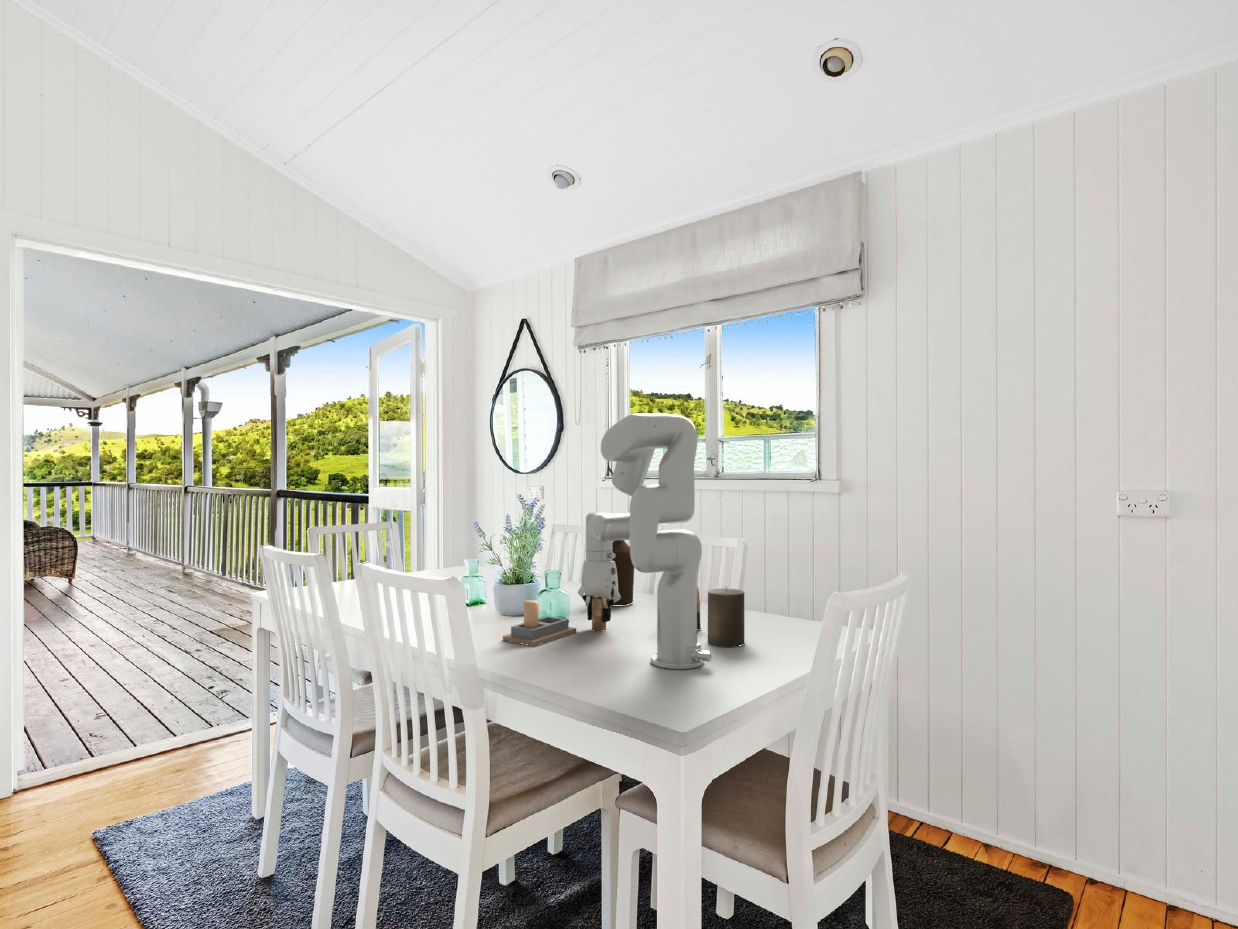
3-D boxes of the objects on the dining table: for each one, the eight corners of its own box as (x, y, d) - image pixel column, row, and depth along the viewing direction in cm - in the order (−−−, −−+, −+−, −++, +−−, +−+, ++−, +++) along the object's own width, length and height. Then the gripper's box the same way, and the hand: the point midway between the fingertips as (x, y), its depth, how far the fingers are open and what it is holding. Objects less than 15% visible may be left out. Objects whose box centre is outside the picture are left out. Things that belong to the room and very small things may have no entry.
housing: (576, 632, 199) (576, 596, 199) (534, 646, 184) (534, 607, 184) (545, 627, 205) (545, 591, 205) (502, 640, 190) (502, 602, 190)
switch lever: (608, 629, 203) (608, 597, 203) (600, 632, 200) (600, 600, 199) (597, 627, 205) (597, 596, 205) (589, 630, 202) (589, 598, 202)
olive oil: (633, 607, 232) (633, 530, 232) (601, 607, 233) (601, 530, 233) (635, 601, 243) (635, 527, 243) (604, 600, 244) (604, 527, 244)
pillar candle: (743, 648, 182) (744, 590, 182) (705, 646, 184) (706, 588, 184) (744, 639, 192) (745, 584, 192) (708, 637, 194) (709, 582, 194)
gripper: (631, 556, 201) (631, 621, 201) (582, 552, 210) (582, 614, 210) (616, 560, 194) (616, 627, 195) (567, 555, 204) (567, 619, 204)
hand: (599, 619), depth 202 cm, fingers open, 4 cm apart
